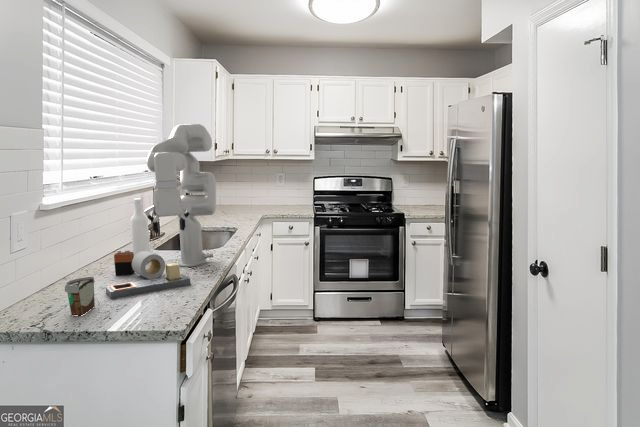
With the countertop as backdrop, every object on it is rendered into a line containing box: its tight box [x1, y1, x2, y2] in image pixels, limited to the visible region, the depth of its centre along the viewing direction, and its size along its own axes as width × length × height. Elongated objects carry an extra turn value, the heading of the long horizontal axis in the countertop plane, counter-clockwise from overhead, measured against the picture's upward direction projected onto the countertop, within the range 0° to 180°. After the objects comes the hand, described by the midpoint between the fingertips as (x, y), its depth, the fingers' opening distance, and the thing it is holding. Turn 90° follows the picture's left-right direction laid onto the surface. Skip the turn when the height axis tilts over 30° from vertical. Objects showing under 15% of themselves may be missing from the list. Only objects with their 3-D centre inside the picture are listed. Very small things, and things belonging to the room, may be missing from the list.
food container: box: [64, 276, 96, 316], centre depth 145 cm, size 12×6×10 cm, turn 5°
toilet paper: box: [132, 251, 166, 280], centre depth 189 cm, size 10×10×10 cm
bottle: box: [129, 198, 151, 263], centre depth 218 cm, size 8×8×30 cm
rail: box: [105, 273, 192, 300], centre depth 170 cm, size 28×9×3 cm, turn 124°
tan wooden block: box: [165, 262, 181, 281], centre depth 175 cm, size 4×4×8 cm
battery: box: [113, 250, 136, 276], centre depth 194 cm, size 4×7×10 cm, turn 91°
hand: (169, 231), depth 173 cm, fingers open, 9 cm apart
